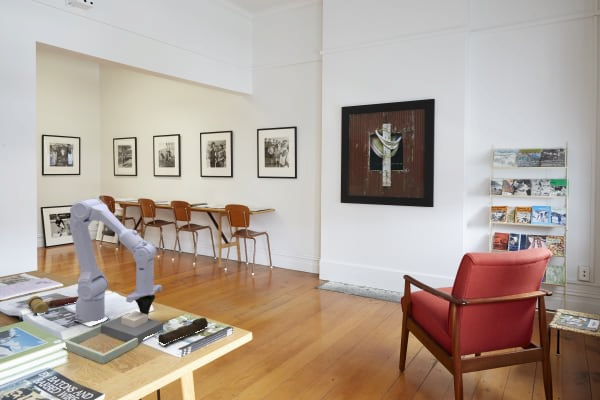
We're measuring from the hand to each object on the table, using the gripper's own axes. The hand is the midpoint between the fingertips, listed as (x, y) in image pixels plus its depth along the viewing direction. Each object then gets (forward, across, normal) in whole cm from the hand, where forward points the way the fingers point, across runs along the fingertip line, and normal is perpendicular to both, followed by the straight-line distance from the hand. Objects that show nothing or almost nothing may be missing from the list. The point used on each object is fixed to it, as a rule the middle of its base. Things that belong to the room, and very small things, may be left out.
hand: (144, 315), depth 145 cm
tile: (+1, -4, 0) cm, 5 cm away
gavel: (+5, -3, +40) cm, 40 cm away
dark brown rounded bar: (+4, +2, -17) cm, 17 cm away
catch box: (+4, -17, 0) cm, 18 cm away
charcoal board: (+4, -6, 0) cm, 7 cm away
